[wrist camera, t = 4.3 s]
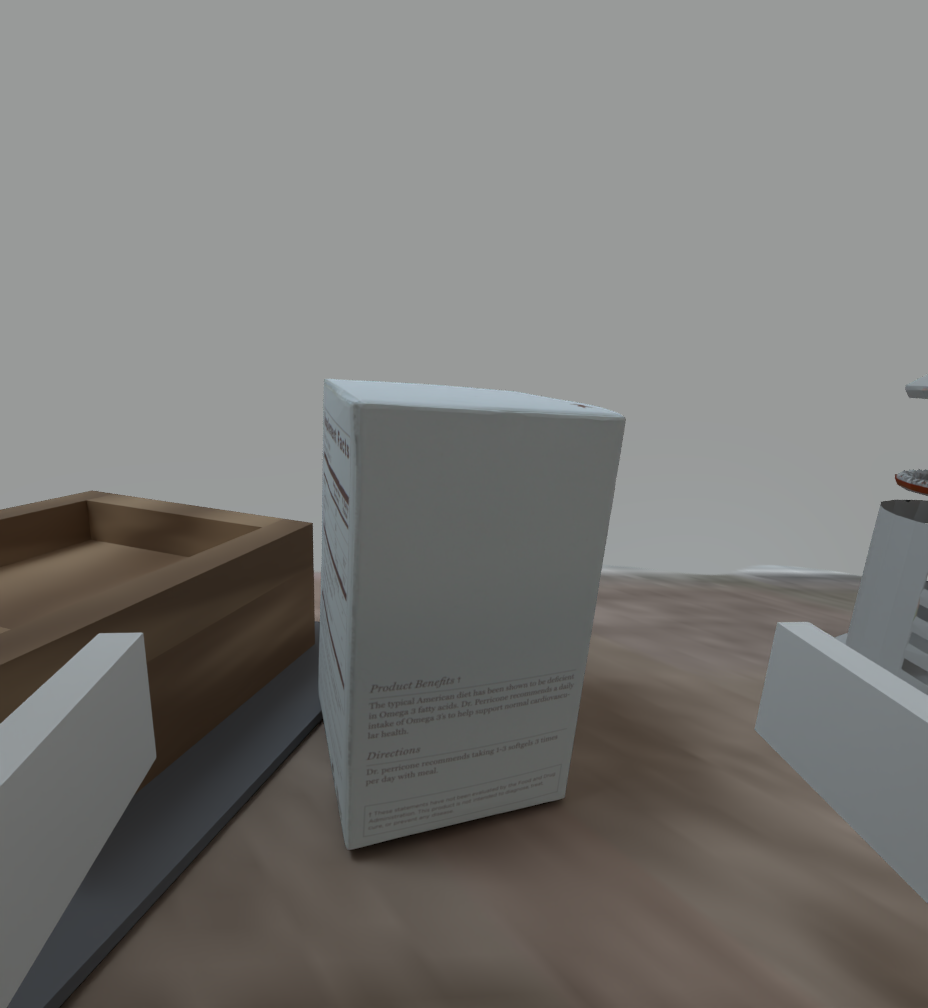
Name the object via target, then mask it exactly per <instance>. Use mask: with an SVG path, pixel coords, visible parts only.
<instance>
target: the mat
mask: <svg viewBox="0 0 928 1008" xmlns="http://www.w3.org/2000/svg"><path fill="white" fill-rule="evenodd" d="M319 637H320V622H317V621H315V644H314V645H313V646H312V647H311V648H309V649H308V650H307V651H306V652H305V653H303V654H302V655H301V656H300V657H299V658H297V659H296V660H295V661H294V662H293V663H291V664H290V665H289V666H288V667H287V668H285V669H284V670H283V671H282V672H281V673H280V674H278V675H277V676H276V677H275V678H274V679H272V680H271V681H270V682H269V683H268V684H266V685H265V686H264V687H263V688H262V689H260V690H259V691H258V692H257V693H256V694H254V695H253V696H252V697H251V698H250V699H248V700H247V701H246V702H245V703H244V704H242V705H241V706H240V707H239V708H238V709H237V710H235V711H234V712H233V713H232V714H231V715H229V716H228V717H227V718H226V719H225V720H223V721H222V722H221V723H220V724H219V725H217V726H216V727H215V728H214V729H213V730H211V731H210V732H209V733H208V734H207V735H205V736H204V737H203V738H202V739H201V740H199V741H198V742H197V743H196V744H195V745H193V746H192V747H191V748H190V749H189V750H188V751H186V752H185V753H184V754H183V755H182V756H180V757H179V758H178V759H177V760H176V761H174V762H173V763H172V764H171V765H170V766H168V767H167V768H166V769H165V770H164V771H162V772H161V773H160V774H159V775H158V776H156V777H155V778H154V779H153V780H152V781H150V782H149V783H148V784H147V785H146V786H145V787H143V788H142V789H141V790H140V791H139V792H137V793H136V794H135V795H134V796H133V798H132V799H131V801H130V803H129V804H128V806H127V808H126V809H125V811H124V813H123V814H122V816H121V818H120V819H119V821H118V823H117V824H116V826H115V828H114V829H113V831H112V833H111V834H110V836H109V838H108V839H107V841H106V843H105V844H104V846H103V848H102V849H101V851H100V853H99V854H98V856H97V858H96V859H95V861H94V863H93V864H92V866H91V868H90V869H89V871H88V873H87V874H86V876H85V878H84V879H83V881H82V883H81V884H80V886H79V888H78V889H77V891H76V893H75V894H74V896H73V898H72V899H71V901H70V903H69V904H68V906H67V908H66V909H65V911H64V913H63V914H62V916H61V918H60V919H59V921H58V923H57V924H56V926H55V928H54V929H53V931H52V933H51V935H50V936H49V938H48V940H47V941H46V943H45V945H44V946H43V948H42V950H41V951H40V953H39V955H38V956H37V958H36V960H35V961H34V963H33V965H32V966H31V968H30V970H29V971H28V973H27V975H26V976H25V978H24V980H23V981H22V983H21V985H20V986H19V988H18V990H17V991H16V993H15V995H14V996H13V998H12V1000H11V1001H10V1003H9V1005H8V1006H7V1008H59V1007H60V1006H61V1005H62V1003H63V1002H64V1001H65V1000H66V999H67V998H68V997H69V996H70V995H71V994H72V993H73V991H74V990H75V989H76V988H77V987H78V986H79V985H80V984H81V983H82V982H83V980H84V979H85V978H86V977H87V976H88V975H89V974H90V973H91V972H92V971H93V969H94V968H95V967H96V966H97V965H98V964H99V963H100V962H101V961H102V960H103V959H104V957H105V956H106V955H107V954H108V953H109V952H110V951H111V950H112V949H113V948H114V946H115V945H116V944H117V943H118V942H119V941H120V940H121V939H122V938H123V937H124V935H125V934H126V933H127V932H128V931H129V930H130V929H131V928H132V927H133V926H134V924H135V923H136V922H137V921H138V920H139V919H140V918H141V917H142V916H143V915H144V914H145V912H146V911H147V910H148V909H149V908H150V907H151V906H152V905H153V904H154V903H155V901H156V900H157V899H158V898H159V897H160V896H161V895H162V894H163V893H164V892H165V890H166V889H167V888H168V887H169V886H170V885H171V884H172V883H173V882H174V881H175V880H176V878H177V877H178V876H179V875H180V874H181V873H182V872H183V871H184V870H185V869H186V867H187V866H188V865H189V864H190V863H191V862H192V861H193V860H194V859H195V858H196V856H197V855H198V854H199V853H200V852H201V851H202V850H203V849H204V848H205V847H206V845H207V844H208V843H209V842H210V841H211V840H212V839H213V838H214V837H215V836H216V835H217V833H218V832H219V831H220V830H221V829H222V828H223V827H224V826H225V825H226V824H227V822H228V821H229V820H230V819H231V818H232V817H233V816H234V815H235V814H236V813H237V811H238V810H239V809H240V808H241V807H242V806H243V805H244V804H245V803H246V802H247V801H248V799H249V798H250V797H251V796H252V795H253V794H254V793H255V792H256V791H257V790H258V788H259V787H260V786H261V785H262V784H263V783H264V782H265V781H266V780H267V779H268V777H269V776H270V775H271V774H272V773H273V772H274V771H275V770H276V769H277V768H278V767H279V765H280V764H281V763H282V762H283V761H284V760H285V759H286V758H287V757H288V756H289V754H290V753H291V752H292V751H293V750H294V749H295V748H296V747H297V746H298V745H299V743H300V742H301V741H302V740H303V739H304V738H305V737H306V736H307V735H308V734H309V732H310V731H311V730H312V729H313V728H314V727H315V726H316V725H317V724H318V723H319V722H320V720H321V719H322V718H323V715H322V709H321V703H320V699H319V689H318V676H319Z"/></svg>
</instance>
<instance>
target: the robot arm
mask: <svg viewBox="0 0 928 1008" xmlns="http://www.w3.org/2000/svg"><path fill="white" fill-rule="evenodd" d="M755 731H756V732H757V733H758V734H759V735H760V736H761V737H762V738H763V739H764V740H765V741H766V742H767V743H768V744H769V745H770V746H771V747H772V748H773V749H774V750H775V751H776V752H777V753H778V754H779V755H780V756H781V757H782V758H783V759H784V760H785V761H786V762H787V763H788V764H789V765H790V766H791V767H792V768H793V769H794V770H795V771H796V772H797V773H798V774H799V775H800V776H801V777H802V778H803V779H804V780H805V781H806V782H807V783H808V784H809V785H810V786H811V787H812V788H813V789H814V790H815V791H816V792H817V793H818V794H819V795H820V796H821V797H822V798H823V799H824V800H825V801H826V802H827V803H828V804H829V805H830V806H831V807H832V808H833V809H834V810H835V811H836V812H837V813H838V814H839V815H840V816H841V817H842V818H843V819H844V820H845V821H846V822H847V823H848V824H849V825H850V826H851V827H852V828H853V829H854V830H855V831H856V832H857V833H858V834H859V835H860V836H861V837H862V838H863V839H864V840H865V841H866V842H867V843H868V844H869V845H870V846H871V847H872V848H873V849H874V850H875V851H876V852H877V853H878V854H879V855H880V856H881V857H882V858H883V859H884V860H885V861H886V862H887V863H888V864H889V865H890V866H891V867H892V868H893V869H894V870H895V871H896V872H897V873H898V874H899V875H900V876H901V877H902V878H903V879H904V880H905V881H906V882H907V883H908V884H909V885H910V886H911V887H912V888H913V889H914V890H915V891H916V892H917V893H918V894H919V895H920V896H921V897H922V898H923V899H924V900H925V901H926V902H927V903H928V695H926V694H924V693H923V692H921V691H920V690H918V689H916V688H915V687H913V686H911V685H910V684H908V683H907V682H905V681H903V680H902V679H900V678H898V677H897V676H895V675H894V674H892V673H890V672H889V671H887V670H886V669H884V668H882V667H881V666H879V665H877V664H876V663H874V662H873V661H871V660H869V659H868V658H866V657H864V656H863V655H861V654H860V653H858V652H856V651H855V650H853V649H851V648H850V647H848V646H847V645H845V644H843V643H842V642H840V641H838V640H837V639H835V638H834V637H832V636H830V635H829V634H827V633H826V632H824V631H822V630H821V629H819V628H817V627H816V626H814V625H813V624H811V623H809V622H777V627H776V632H775V636H774V641H773V646H772V650H771V655H770V660H769V664H768V669H767V674H766V678H765V683H764V688H763V692H762V697H761V702H760V706H759V711H758V716H757V720H756V725H755ZM155 759H156V748H155V738H154V729H153V720H152V710H151V701H150V692H149V682H148V673H147V664H146V654H145V645H144V636H143V633H99V634H98V635H97V636H95V637H94V638H93V639H92V640H91V641H90V642H89V643H88V644H87V645H86V646H85V647H83V648H82V649H81V650H80V651H79V652H78V653H77V654H76V655H75V656H74V657H73V658H71V659H70V660H69V661H68V662H67V663H66V664H65V665H64V666H63V667H62V668H61V669H59V670H58V671H57V672H56V673H55V674H54V675H53V676H52V677H51V678H50V679H49V680H47V681H46V682H45V683H44V684H43V685H42V686H41V687H40V688H39V689H38V690H37V691H35V692H34V693H33V694H32V695H31V696H30V697H29V698H28V699H27V700H26V701H25V702H23V703H22V704H21V705H20V706H19V707H18V708H17V709H16V710H15V711H14V712H13V713H11V714H10V715H9V716H8V717H7V718H6V719H5V720H4V721H3V722H2V723H1V724H0V1008H7V1006H8V1005H9V1003H10V1001H11V1000H12V998H13V996H14V995H15V993H16V991H17V990H18V988H19V986H20V985H21V983H22V981H23V980H24V978H25V976H26V975H27V973H28V971H29V970H30V968H31V966H32V965H33V963H34V961H35V960H36V958H37V956H38V955H39V953H40V951H41V950H42V948H43V946H44V945H45V943H46V941H47V940H48V938H49V936H50V935H51V933H52V931H53V929H54V928H55V926H56V924H57V923H58V921H59V919H60V918H61V916H62V914H63V913H64V911H65V909H66V908H67V906H68V904H69V903H70V901H71V899H72V898H73V896H74V894H75V893H76V891H77V889H78V888H79V886H80V884H81V883H82V881H83V879H84V878H85V876H86V874H87V873H88V871H89V869H90V868H91V866H92V864H93V863H94V861H95V859H96V858H97V856H98V854H99V853H100V851H101V849H102V848H103V846H104V844H105V843H106V841H107V839H108V838H109V836H110V834H111V833H112V831H113V829H114V828H115V826H116V824H117V823H118V821H119V819H120V818H121V816H122V814H123V813H124V811H125V809H126V808H127V806H128V804H129V803H130V801H131V799H132V798H133V796H134V794H135V793H136V791H137V789H138V788H139V786H140V784H141V783H142V781H143V779H144V778H145V776H146V774H147V773H148V771H149V769H150V768H151V766H152V764H153V763H154V761H155Z"/></svg>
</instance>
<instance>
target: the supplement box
mask: <svg viewBox="0 0 928 1008" xmlns="http://www.w3.org/2000/svg"><path fill="white" fill-rule="evenodd" d="M323 410H324V411H323V495H322V496H323V497H322V567H321V602H320V637H319V676H318V689H319V699H320V703H321V709H322V715H323V720H324V726H325V732H326V737H327V743H328V749H329V755H330V761H331V767H332V773H333V779H334V784H335V790H336V796H337V802H338V808H339V813H340V819H341V825H342V830H343V836H344V841H345V846H346V848H347V849H348V850H351V849H356V848H361V847H364V846H368V845H372V844H376V843H380V842H384V841H388V840H392V839H395V838H399V837H404V836H408V835H412V834H416V833H421V832H425V831H429V830H433V829H437V828H442V827H446V826H450V825H454V824H458V823H462V822H466V821H470V820H474V819H478V818H482V817H487V816H491V815H495V814H499V813H504V812H508V811H513V810H517V809H521V808H525V807H529V806H534V805H537V804H541V803H545V802H550V801H555V800H559V799H563V798H564V797H565V792H566V786H567V779H568V773H569V767H570V761H571V755H572V749H573V743H574V737H575V730H576V724H577V718H578V711H579V705H580V699H581V693H582V687H583V680H584V674H585V668H586V662H587V656H588V650H589V644H590V638H591V632H592V626H593V619H594V613H595V607H596V601H597V595H598V588H599V582H600V576H601V569H602V563H603V557H604V551H605V545H606V538H607V532H608V526H609V519H610V514H611V509H612V503H613V496H614V490H615V482H616V476H617V471H618V465H619V459H620V453H621V447H622V440H623V435H624V428H625V421H626V419H625V417H624V416H622V415H621V414H619V413H617V412H614V411H611V410H608V409H605V408H601V407H598V406H593V405H588V404H582V403H578V402H572V401H566V400H560V399H554V398H548V397H543V396H537V395H532V394H527V393H522V392H514V391H503V390H492V389H480V388H469V387H457V386H443V385H429V384H413V383H396V382H395V383H394V382H379V381H356V380H337V379H324V404H323Z"/></svg>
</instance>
